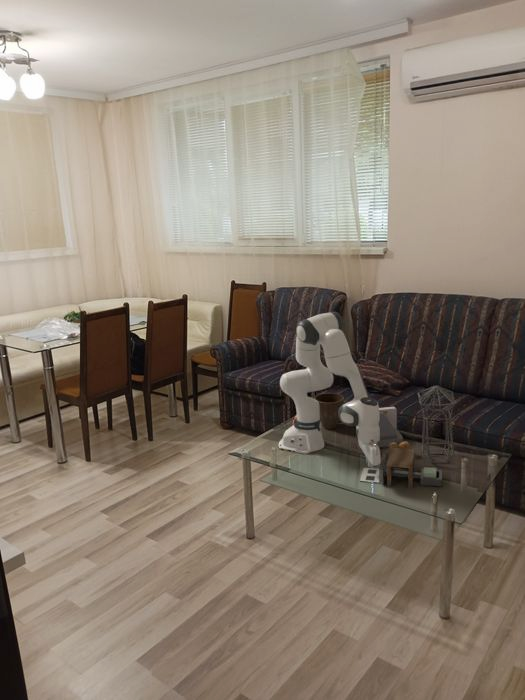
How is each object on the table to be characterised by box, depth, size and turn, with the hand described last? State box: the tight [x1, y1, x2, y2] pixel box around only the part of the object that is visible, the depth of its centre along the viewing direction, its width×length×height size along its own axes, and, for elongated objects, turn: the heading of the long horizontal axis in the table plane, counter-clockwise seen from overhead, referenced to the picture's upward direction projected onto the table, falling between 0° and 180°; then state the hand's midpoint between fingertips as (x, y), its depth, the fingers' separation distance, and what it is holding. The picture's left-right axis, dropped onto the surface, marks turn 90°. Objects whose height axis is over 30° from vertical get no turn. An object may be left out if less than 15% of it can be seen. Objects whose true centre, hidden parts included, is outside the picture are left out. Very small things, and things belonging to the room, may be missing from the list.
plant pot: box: [314, 392, 344, 430], centre depth 294 cm, size 15×15×16 cm
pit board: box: [359, 467, 380, 484], centre depth 242 cm, size 8×12×1 cm, turn 162°
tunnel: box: [386, 448, 415, 489], centre depth 237 cm, size 10×14×10 cm
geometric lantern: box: [416, 384, 458, 464], centre depth 248 cm, size 16×16×35 cm
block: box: [423, 466, 437, 478], centre depth 234 cm, size 5×5×5 cm
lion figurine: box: [388, 441, 412, 452], centre depth 256 cm, size 15×5×9 cm, turn 129°
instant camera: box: [355, 406, 404, 448], centre depth 275 cm, size 21×21×15 cm
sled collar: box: [378, 452, 443, 487], centre depth 236 cm, size 25×14×8 cm, turn 72°
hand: (369, 465), depth 241 cm, fingers closed
